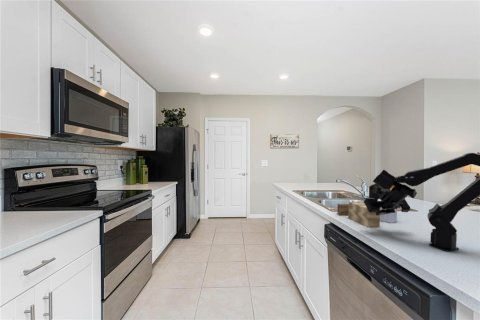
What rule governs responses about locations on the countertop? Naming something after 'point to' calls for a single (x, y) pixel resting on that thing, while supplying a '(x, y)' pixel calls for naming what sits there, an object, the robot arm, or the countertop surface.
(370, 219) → the bar
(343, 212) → the stop block
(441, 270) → the countertop surface
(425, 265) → the countertop surface
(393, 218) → the soap bottle
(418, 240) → the countertop surface
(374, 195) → the aerosol can
